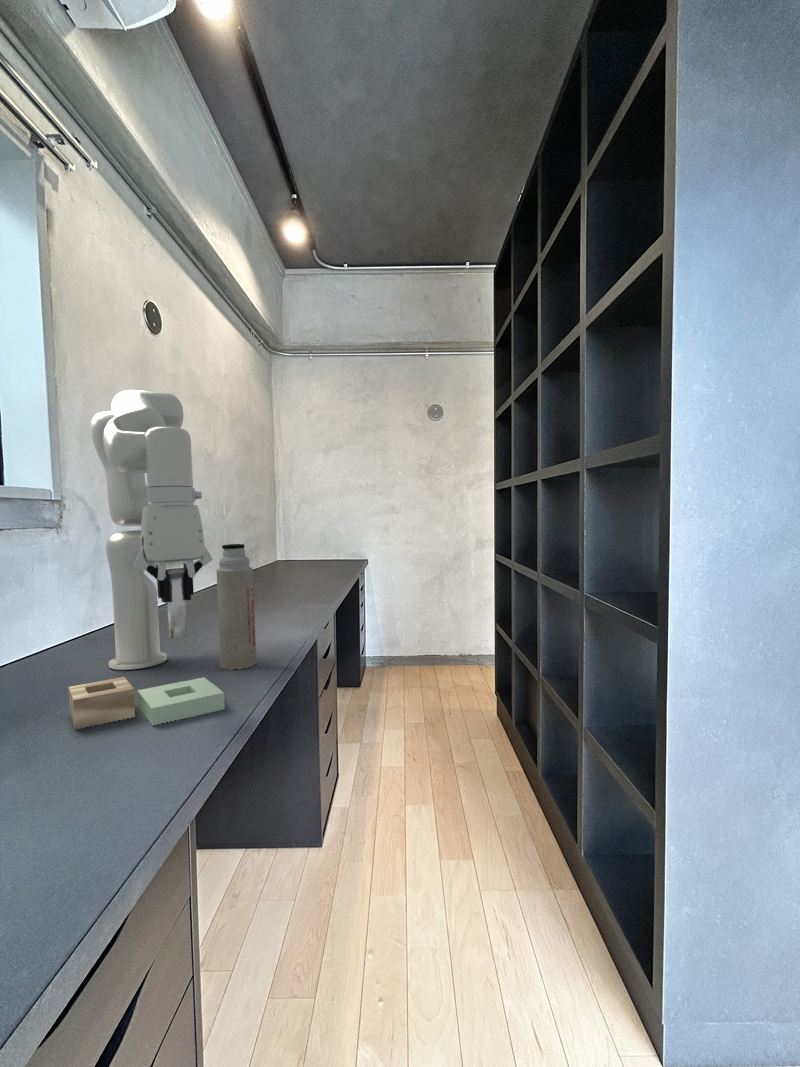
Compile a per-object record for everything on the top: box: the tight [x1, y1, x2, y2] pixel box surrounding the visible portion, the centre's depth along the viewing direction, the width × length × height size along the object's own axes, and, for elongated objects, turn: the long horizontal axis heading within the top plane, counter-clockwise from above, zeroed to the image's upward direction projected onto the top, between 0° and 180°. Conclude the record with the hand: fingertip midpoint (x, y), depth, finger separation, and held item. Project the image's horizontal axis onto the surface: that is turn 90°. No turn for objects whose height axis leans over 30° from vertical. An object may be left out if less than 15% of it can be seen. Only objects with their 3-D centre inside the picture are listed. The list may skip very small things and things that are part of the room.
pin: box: [165, 567, 188, 640], centre depth 98 cm, size 4×4×12 cm
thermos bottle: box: [216, 543, 257, 671], centre depth 126 cm, size 8×8×28 cm
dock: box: [137, 676, 226, 727], centre depth 99 cm, size 12×12×3 cm
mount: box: [68, 676, 136, 731], centre depth 96 cm, size 9×9×5 cm
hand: (176, 599), depth 98 cm, fingers closed on pin, 3 cm apart
